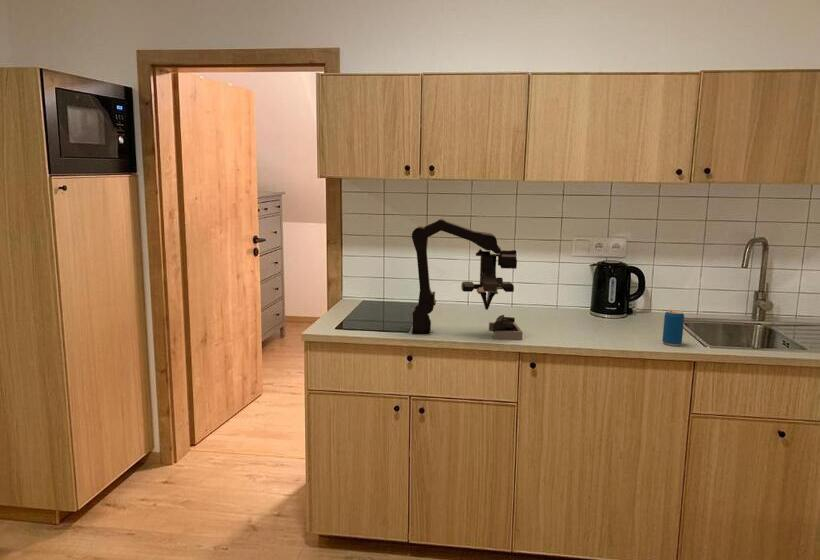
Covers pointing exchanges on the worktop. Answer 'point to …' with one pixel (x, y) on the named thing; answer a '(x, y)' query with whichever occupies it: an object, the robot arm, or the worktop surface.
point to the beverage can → (673, 327)
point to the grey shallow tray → (507, 333)
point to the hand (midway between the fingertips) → (486, 309)
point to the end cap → (504, 324)
